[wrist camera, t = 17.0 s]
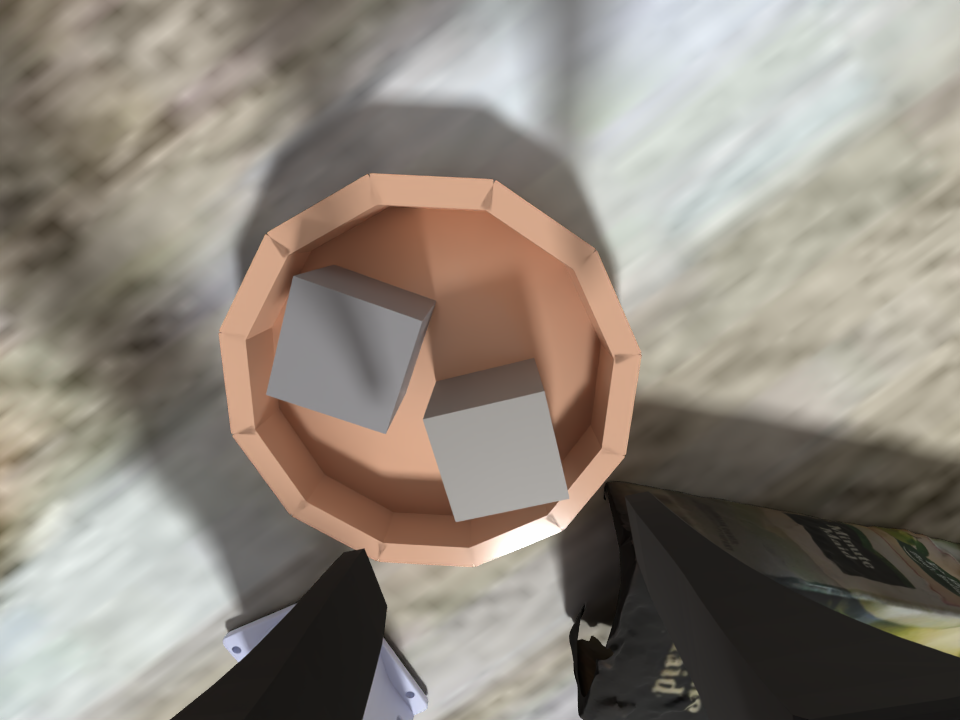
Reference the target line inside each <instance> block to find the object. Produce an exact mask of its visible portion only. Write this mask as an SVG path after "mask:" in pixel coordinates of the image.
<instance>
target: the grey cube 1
mask: <svg viewBox="0 0 960 720" xmlns="http://www.w3.org/2000/svg"><path fill="white" fill-rule="evenodd" d="M435 304H436V301H435V300H433V299H430V298H427V297H424V296H421V295H419V294H416V293H413V292H410V291H407V290H404V289H402V288H399V287H396V286H393V285H390V284H388V283H385V282H382V281H379V280H376V279H373V278H371V277H368V276H365V275H362V274H359V273H357V272H354V271H351V270H348V269H345V268H342V267H340V266H337V265H330V266H327V267H323V268H320V269H316V270H313V271H309V272H305V273H302V274H298V275H295V276H293V279H292V284H291V288H290V292H289V297H288V301H287V305H286V310H285V314H284V318H283V323H282V327H281V331H280V336H279V340H278V344H277V349H276V353H275V357H274V362H273V366H272V370H271V375H270V379H269V384H268V388H267V392H266V395H268V396H271V397H274V398H277V399H280V400H283V401H286V402H289V403H292V404H295V405H298V406H301V407H304V408H307V409H310V410H313V411H317V412H320V413H323V414H326V415H329V416H332V417H335V418H338V419H341V420H344V421H347V422H350V423H353V424H356V425H359V426H362V427H365V428H368V429H371V430H374V431H377V432H380V433H383V434H386V433H387V431H388V429H389V427H390V425H391V423H392V421H393V419H394V416H395V414H396V412H397V410H398V408H399V406H400V404H401V402H402V400H403V398H404V396H405V394H406V392H407V389H408V386H409V382H410V379H411V376H412V373H413V370H414V367H415V364H416V361H417V358H418V355H419V352H420V349H421V346H422V343H423V340H424V337H425V334H426V331H427V328H428V325H429V322H430V319H431V316H432V313H433V310H434V307H435Z"/></svg>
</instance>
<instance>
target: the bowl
mask: <svg viewBox="0 0 960 720" xmlns="http://www.w3.org/2000/svg"><path fill="white" fill-rule="evenodd" d="M330 265H337V266H340V267H342V268H345V269H348V270H351V271H354V272H357V273H359V274H362V275H365V276H368V277H371V278H373V279H376V280H379V281H382V282H385V283H388V284H390V285H393V286H396V287H399V288H402V289H404V290H407V291H410V292H413V293H416V294H419V295H421V296H424V297H427V298H430V299H433V300H435V301H436V304H435V307H434V310H433V313H432V316H431V319H430V322H429V325H428V328H427V331H426V334H425V337H424V340H423V343H422V346H421V349H420V352H419V355H418V358H417V361H416V364H415V367H414V370H413V373H412V376H411V379H410V382H409V386H408V389H407V392H406V394H405V396H404V398H403V400H402V402H401V404H400V406H399V408H398V410H397V412H396V414H395V416H394V419H393V421H392V423H391V425H390V427H389V429H388V431H387V433H386V434H383V433H380V432H377V431H374V430H371V429H368V428H365V427H362V426H359V425H356V424H353V423H350V422H347V421H344V420H341V419H338V418H335V417H332V416H329V415H326V414H323V413H320V412H317V411H313V410H310V409H307V408H304V407H301V406H298V405H295V404H292V403H289V402H286V401H283V400H280V399H277V398H274V397H271V396H268V395H266V392H267V388H268V384H269V379H270V375H271V370H272V366H273V362H274V357H275V353H276V349H277V344H278V340H279V336H280V331H281V327H282V323H283V318H284V314H285V310H286V305H287V301H288V297H289V292H290V288H291V284H292V279H293V276H295V275H298V274H302V273H305V272H309V271H313V270H316V269H320V268H323V267H327V266H330ZM219 331H220V333H219V340H220V348H221V356H222V364H223V372H224V380H225V388H226V396H227V404H228V413H229V421H230V429H231V434H233V435H232V436H233V438H234V439H235V440H236V442H237V443H238V445H239V446H240V447H241V449H242V450H243V451H244V453H245V454H246V455H247V457H248V458H249V460H250V461H251V462H252V464H253V465H254V466H255V468H256V469H257V470H258V472H259V473H260V475H261V476H262V477H263V479H264V480H265V481H266V483H267V484H268V486H269V487H270V488H271V490H272V491H273V492H274V494H275V495H276V496H277V498H278V499H279V501H280V502H281V503H282V505H283V506H284V507H285V509H286V510H287V511H288V513H289V514H290V515H291V514H292V517H294V518H296V519H298V520H300V521H302V522H304V523H305V524H307V525H309V526H311V527H313V528H315V529H317V530H319V531H321V532H322V533H324V534H326V535H328V536H330V537H332V538H334V539H336V540H338V541H339V542H341V543H343V544H345V545H347V546H349V547H351V548H353V549H355V550H359V549H364V548H365V551H366V553H367V556H368V557H370V558H372V559H373V560H375V561H377V560H378V559H379V562H392V563H410V564H427V565H445V566H463V567H473V564H474V566H475V567H476V566H478V565H481V564H483V563H486V562H488V561H491V560H493V559H495V558H498V557H500V556H503V555H505V554H508V553H510V552H513V551H515V550H518V549H520V548H522V547H525V546H527V545H530V544H532V543H535V542H537V541H540V540H542V539H544V538H547V537H549V536H552V535H554V534H557V533H559V532H562V529H563V530H564V529H565V528H566V527H567V526H568V525H569V523H570V522H571V521H572V520H573V519H574V517H575V516H576V515H577V514H578V513H579V511H580V510H581V509H582V508H583V507H584V505H585V504H586V503H587V502H588V501H589V499H590V498H591V497H592V496H593V495H594V493H595V492H596V491H597V490H598V489H599V487H600V486H601V485H602V484H603V483H604V481H605V480H606V479H607V478H608V477H609V475H610V474H611V473H612V472H613V471H614V469H615V468H616V467H617V466H618V465H619V463H620V462H621V461H622V460H623V459H624V457H625V456H624V455H626V451H627V445H628V438H629V432H630V426H631V419H632V413H633V407H634V400H635V394H636V388H637V381H638V375H639V369H640V362H641V356H642V355H641V354H640V353H641V351H640V349H639V346H638V344H637V342H636V339H635V337H634V335H633V332H632V330H631V328H630V325H629V323H628V321H627V318H626V316H625V314H624V312H623V309H622V307H621V305H620V302H619V300H618V298H617V295H616V293H615V291H614V288H613V286H612V284H611V281H610V279H609V277H608V275H607V272H606V270H605V268H604V265H603V263H602V261H601V258H600V256H599V254H598V251H596V250H595V248H594V247H592V246H591V245H589V244H588V243H586V242H585V241H584V240H582V239H581V238H579V237H578V236H576V235H575V234H573V233H572V232H571V231H569V230H568V229H566V228H565V227H563V226H562V225H560V224H559V223H557V222H556V221H555V220H553V219H552V218H550V217H549V216H547V215H546V214H544V213H543V212H542V211H540V210H539V209H537V208H536V207H534V206H533V205H531V204H530V203H528V202H527V201H526V200H524V199H523V198H521V197H520V196H518V195H517V194H515V193H514V192H513V191H511V190H510V189H508V188H507V187H505V186H504V185H502V184H501V183H499V182H498V181H497V180H496V181H495V182H494V184H493V179H479V178H459V177H438V176H417V175H397V174H376V173H370V174H366V175H365V176H363V177H361V178H360V179H358V180H356V181H354V182H353V183H351V184H349V185H348V186H346V187H344V188H342V189H341V190H339V191H337V192H336V193H334V194H332V195H330V196H329V197H327V198H325V199H324V200H322V201H320V202H318V203H317V204H315V205H313V206H312V207H310V208H308V209H306V210H305V211H303V212H301V213H300V214H298V215H296V216H294V217H293V218H291V219H289V220H287V221H286V222H284V223H282V224H281V225H279V226H277V227H275V228H274V229H272V230H270V231H269V232H267V234H265V236H264V238H263V240H262V242H261V244H260V246H259V248H258V251H257V253H256V255H255V257H254V259H253V261H252V263H251V265H250V267H249V269H248V271H247V273H246V276H245V278H244V280H243V282H242V284H241V286H240V288H239V290H238V292H237V294H236V296H235V299H234V301H233V303H232V305H231V307H230V309H229V311H228V313H227V315H226V317H225V319H224V321H223V324H222V326H221V328H220V330H219ZM532 358H534V359H535V362H536V365H537V368H538V372H539V375H540V378H541V382H542V385H543V388H544V391H545V396H546V400H547V404H548V408H549V413H550V417H551V421H552V426H553V430H554V434H555V438H556V443H557V447H558V451H559V455H560V460H561V464H562V468H563V472H564V477H565V481H566V485H567V490H568V494H569V498H570V499H566V500H561V501H556V502H551V503H546V504H542V505H537V506H532V507H527V508H522V509H517V510H513V511H508V512H503V513H498V514H493V515H488V516H484V517H479V518H474V519H469V520H464V521H459V522H456V521H455V518H454V515H453V512H452V509H451V506H450V503H449V500H448V496H447V493H446V490H445V487H444V484H443V481H442V478H441V475H440V472H439V469H438V465H437V462H436V459H435V456H434V453H433V450H432V447H431V444H430V441H429V437H428V434H427V431H426V428H425V425H424V422H423V417H424V414H425V411H426V409H427V406H428V403H429V400H430V397H431V394H432V391H433V388H434V386H435V383H436V381H440V380H444V379H448V378H453V377H457V376H461V375H465V374H469V373H473V372H478V371H482V370H486V369H490V368H494V367H498V366H503V365H507V364H511V363H515V362H519V361H523V360H528V359H532Z"/></svg>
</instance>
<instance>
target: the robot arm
mask: <svg viewBox="0 0 960 720" xmlns="http://www.w3.org/2000/svg"><path fill="white" fill-rule="evenodd" d="M625 500H626V506H627V511H628V516H629V522H630V527H631V532H632V537H633V543H634V548H635V553H636V559H637V562H638V565H639V567H640V570H641V573H642V575H643V578H644V581H645V584H646V586H647V589H648V592H649V594H650V597H651V599H652V601H653V603H654V605H655V607H656V609H657V611H658V613H659V615H660V617H661V619H662V621H663V623H664V625H665V627H666V629H667V631H668V633H669V635H670V637H671V639H672V641H673V643H674V645H675V647H676V649H677V651H678V653H679V655H680V657H681V659H682V661H683V663H684V665H685V667H686V669H687V671H688V673H689V675H690V677H691V679H692V681H693V683H694V685H695V688H696V690H697V692H698V694H699V696H700V699H701V701H702V703H703V705H704V707H705V710H706V712H707V715H708V717H709V720H960V657H957V656H954V655H951V654H948V653H945V652H942V651H939V650H936V649H934V648H931V647H928V646H925V645H922V644H919V643H916V642H913V641H910V640H907V639H904V638H901V637H898V636H896V635H893V634H890V633H888V632H885V631H883V630H880V629H878V628H875V627H873V626H870V625H868V624H865V623H863V622H860V621H858V620H855V619H853V618H851V617H848V616H846V615H844V614H841V613H839V612H837V611H835V610H832V609H830V608H828V607H826V606H824V605H822V604H819V603H817V602H815V601H813V600H811V599H809V598H807V597H805V596H803V595H801V594H798V593H796V592H795V591H793V590H791V589H789V588H787V587H785V586H783V585H781V584H779V583H777V582H776V581H774V580H772V579H770V578H768V577H767V576H765V575H763V574H761V573H760V572H758V571H756V570H754V569H753V568H751V567H750V566H748V565H746V564H745V563H743V562H742V561H740V560H738V559H737V558H735V557H734V556H732V555H731V554H729V553H728V552H726V551H725V550H723V549H722V548H720V547H719V546H718V545H716V544H715V543H713V542H712V541H711V540H709V539H708V538H706V537H705V536H704V535H702V534H701V533H700V532H698V531H697V530H696V529H694V528H693V527H692V526H690V525H689V524H688V523H687V522H685V521H684V520H683V519H682V518H680V517H679V516H678V515H677V514H675V513H674V512H673V511H672V510H671V509H669V508H668V507H667V506H666V505H665V504H663V503H662V502H661V501H660V500H659V499H658V498H657V497H655V496H654V495H653V494H652V493H650V492H649V491H647V492H642V493H637V494H632V495H627V496H625ZM386 612H387V604H386V602H385V599H384V597H383V594H382V592H381V589H380V587H379V584H378V581H377V579H376V576H375V574H374V571H373V569H372V566H371V563H370V561H369V558H368V556H367V553H366V551H365V548H364V549H359V550H354V551H349V552H344V553H343V554H342V555H341V556H340V557H339V558H338V559H337V560H336V561H335V562H334V563H333V564H332V565H331V566H330V567H329V568H328V570H327V571H326V572H325V573H324V574H323V575H322V576H321V577H320V578H319V580H318V581H317V582H316V583H315V584H314V585H313V586H312V587H311V588H310V590H309V591H308V592H307V593H306V594H305V595H304V596H303V597H302V598H301V599H300V601H299V602H298V603H296V604H294V605H291V606H289V607H287V608H284V609H282V610H279V611H277V612H275V613H272V614H270V615H268V616H265V617H263V618H261V619H258V620H256V621H253V622H251V623H249V624H246V625H244V626H242V627H239V628H237V629H235V630H232V631H230V632H228V633H227V634H226V636H225V637H224V639H223V644H224V646H225V647H226V649H227V650H228V651H229V652H230V653H231V654H232V656H233V657H234V658H235V659H236V660H237V661H238V663H237V664H236V665H235V666H234V667H233V668H232V669H231V670H230V671H228V672H227V673H226V674H225V675H224V676H223V677H222V678H221V679H219V680H218V681H217V682H216V683H215V684H214V685H212V686H211V687H210V688H209V689H208V690H206V691H205V692H204V693H203V694H201V695H200V696H199V697H198V698H196V699H195V700H194V701H193V702H191V703H190V704H189V705H188V706H187V707H185V708H184V709H183V710H182V711H180V712H179V713H178V714H177V715H175V716H174V717H173V718H172V719H170V720H413V717H414V715H415V714H418V713H421V712H423V711H425V710H426V709H427V706H428V698H427V697H426V695H425V694H424V693H423V691H422V690H421V688H420V687H419V686H418V684H417V683H416V682H415V680H414V679H413V677H412V676H411V675H410V673H409V672H408V671H407V669H406V668H405V666H404V665H403V664H402V662H401V661H400V660H399V658H398V657H397V655H396V654H395V653H394V651H393V650H392V649H391V647H390V646H389V645H388V643H387V642H386V640H385V639H384V638H383V635H384V628H385V620H386Z"/></svg>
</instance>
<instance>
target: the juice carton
mask: <svg viewBox="0 0 960 720" xmlns="http://www.w3.org/2000/svg"><path fill="white" fill-rule="evenodd" d="M605 489H606V490H607V493H608V498H609V502H610V507H611V511H612V516H613V520H614V525H615V530H616V534H617V539H618V544H619V550H620V570H621V586H620V592H619V598H618V603H617V609H616V615H615V619H614V622H613V625H612V628H611V632H610V635H609V638H608V641H607V644H606V647H605V646H603V645H602V644H601V642H600V641H599V640H598V639H596V638H595V637H594V636H591V638H590V641H586V640H583V639H581V640H577V639H578V632H579V625H580V619H581V617H582V615H583V612H584V609H585V604H584V606H583V608H582V610H581V612H580V614H579V616H578V618H577V620H576V622H575V623H574V625H573V627H572V629H571V631H570V635H569V641H570V645H571V650H572V655H573V661H574V663H573V664H574V675H575V679H576V682H577V686H578V713H579V716H580V718H582V719H583V720H709V717H708V715H707V712H706V710H705V707H704V705H703V703H702V701H701V699H700V696H699V694H698V692H697V690H696V688H695V685H694V683H693V681H692V679H691V677H690V675H689V673H688V671H687V669H686V667H685V665H684V663H683V661H682V659H681V657H680V655H679V653H678V651H677V649H676V647H675V645H674V643H673V641H672V639H671V637H670V635H669V633H668V631H667V629H666V627H665V625H664V623H663V621H662V619H661V617H660V615H659V613H658V611H657V609H656V607H655V605H654V603H653V601H652V599H651V597H650V594H649V592H648V589H647V586H646V584H645V581H644V578H643V575H642V573H641V570H640V567H639V565H638V562H637V559H636V553H635V548H634V543H633V537H632V532H631V527H630V522H629V516H628V511H627V506H626V500H625V496H627V495H632V494H637V493H642V492H647V491H649V492H650V493H652V494H653V495H654V496H655V497H657V498H658V499H659V500H660V501H661V502H662V503H663V504H665V505H666V506H667V507H668V508H669V509H671V510H672V511H673V512H674V513H675V514H677V515H678V516H679V517H680V518H682V519H683V520H684V521H685V522H687V523H688V524H689V525H690V526H692V527H693V528H694V529H696V530H697V531H698V532H700V533H701V534H702V535H704V536H705V537H706V538H708V539H709V540H711V541H712V542H713V543H715V544H716V545H718V546H719V547H720V548H722V549H723V550H725V551H726V552H728V553H729V554H731V555H732V556H734V557H735V558H737V559H738V560H740V561H742V562H743V563H745V564H746V565H748V566H750V567H751V568H753V569H754V570H756V571H758V572H760V573H761V574H763V575H765V576H767V577H768V578H770V579H772V580H774V581H776V582H777V583H779V584H781V585H783V586H785V587H787V588H789V589H791V590H793V591H795V592H796V593H798V594H801V595H803V596H805V597H807V598H809V599H811V600H813V601H815V602H817V603H819V604H822V605H824V606H826V607H828V608H830V609H832V610H835V611H837V612H839V613H841V614H844V615H846V616H848V617H851V618H853V619H855V620H858V621H860V622H863V623H865V624H868V625H870V626H873V627H875V628H878V629H880V630H883V631H885V632H888V633H890V634H893V635H896V636H898V637H901V638H904V639H907V640H910V641H913V642H916V643H919V644H922V645H925V646H928V647H931V648H934V649H936V650H939V651H942V652H945V653H948V654H951V655H954V656H957V657H960V544H958V543H952V542H949V541H946V540H942V539H933V538H929V537H928V536H926V535H923V534H914V533H912V532H910V531H908V530H906V529H894V528H891V529H889V528H883V527H877V526H870V527H865V526H861V525H857V524H851V523H842V522H835V521H828V520H823V519H819V518H815V517H810V516H807V515H803V514H798V513H793V512H786V511H779V510H774V509H769V508H763V507H758V506H753V505H748V504H741V503H736V502H730V501H726V500H723V499H715V498H707V497H698V496H693V495H689V494H685V493H682V492H678V491H671V490H664V489H658V488H654V487H649V486H643V485H638V484H632V483H626V482H620V481H614V482H606V484H605ZM604 492H605V490H604ZM604 499H605V500H606V498H605V494H604Z"/></svg>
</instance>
